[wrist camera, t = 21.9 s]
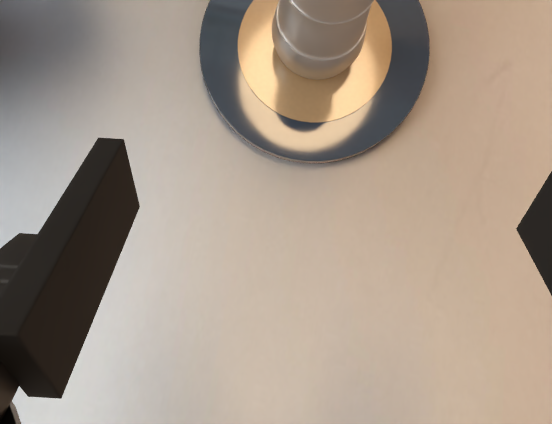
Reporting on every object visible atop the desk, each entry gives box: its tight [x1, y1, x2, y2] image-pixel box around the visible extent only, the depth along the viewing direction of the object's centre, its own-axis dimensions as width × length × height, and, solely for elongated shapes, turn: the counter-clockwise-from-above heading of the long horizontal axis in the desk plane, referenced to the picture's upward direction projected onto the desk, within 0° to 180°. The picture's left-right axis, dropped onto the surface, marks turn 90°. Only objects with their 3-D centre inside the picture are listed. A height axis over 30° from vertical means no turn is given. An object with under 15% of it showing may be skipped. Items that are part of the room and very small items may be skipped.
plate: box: [200, 0, 429, 163], centre depth 33 cm, size 18×18×1 cm
